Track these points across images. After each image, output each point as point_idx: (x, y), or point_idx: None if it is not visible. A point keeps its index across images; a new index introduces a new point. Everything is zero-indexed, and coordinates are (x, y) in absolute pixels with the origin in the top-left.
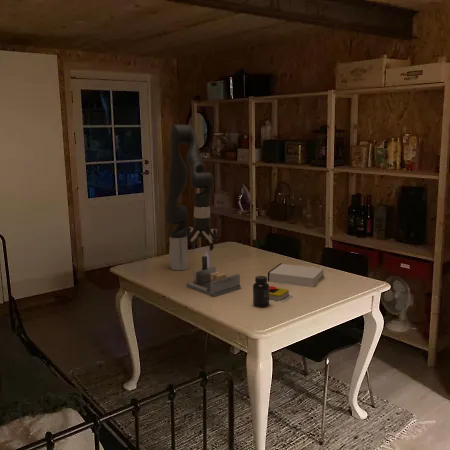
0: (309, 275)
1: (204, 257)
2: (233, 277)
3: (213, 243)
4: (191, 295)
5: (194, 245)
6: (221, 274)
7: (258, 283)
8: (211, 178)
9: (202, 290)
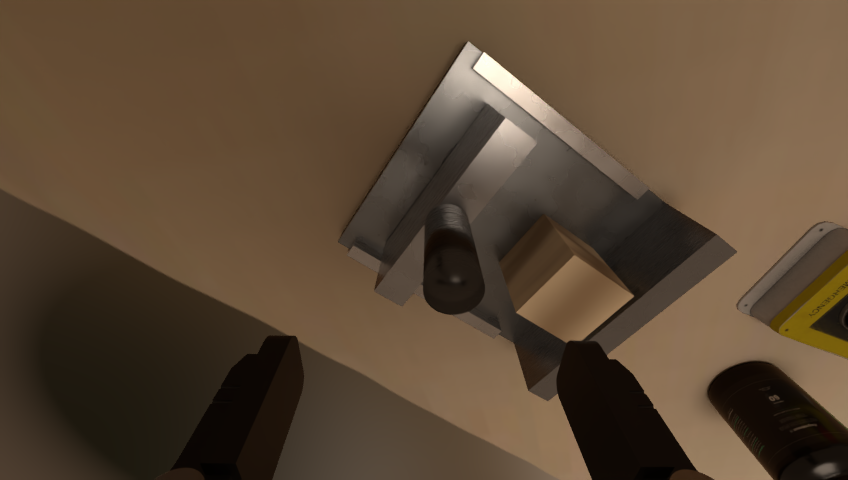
0: None
1: (461, 312)
2: (678, 293)
3: (681, 462)
4: (417, 340)
5: (279, 402)
6: (599, 315)
7: None
8: None
9: None
